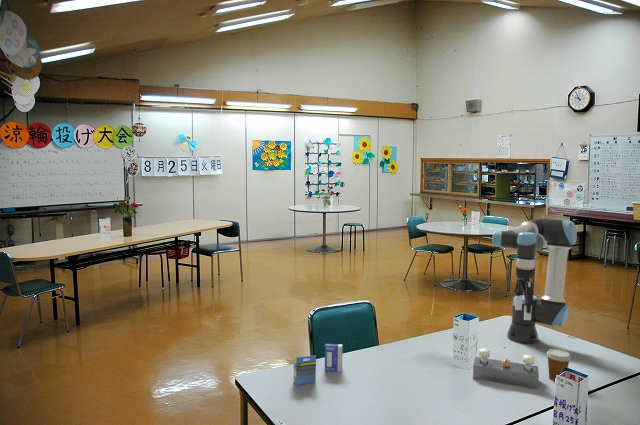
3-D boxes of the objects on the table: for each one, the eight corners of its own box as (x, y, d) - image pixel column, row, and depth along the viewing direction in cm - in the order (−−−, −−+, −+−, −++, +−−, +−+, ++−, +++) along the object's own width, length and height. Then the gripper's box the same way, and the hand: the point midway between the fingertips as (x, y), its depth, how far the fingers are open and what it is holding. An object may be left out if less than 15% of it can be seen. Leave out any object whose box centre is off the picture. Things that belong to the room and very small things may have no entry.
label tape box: (313, 378, 214) (313, 351, 213) (316, 382, 210) (316, 355, 209) (293, 381, 211) (293, 354, 210) (296, 385, 207) (296, 357, 206)
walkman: (324, 370, 222) (324, 345, 220) (325, 368, 224) (325, 342, 223) (342, 371, 221) (342, 346, 220) (342, 369, 224) (342, 343, 222)
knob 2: (522, 370, 214) (523, 354, 213) (533, 372, 212) (534, 355, 212) (522, 375, 210) (523, 357, 209) (533, 376, 208) (534, 359, 208)
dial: (501, 363, 217) (502, 357, 216) (509, 365, 215) (510, 359, 215) (501, 366, 213) (502, 360, 213) (509, 368, 212) (509, 361, 212)
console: (474, 369, 225) (475, 356, 224) (537, 379, 215) (538, 366, 214) (472, 378, 215) (473, 365, 215) (537, 389, 206) (538, 375, 205)
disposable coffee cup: (544, 381, 214) (546, 354, 212) (545, 372, 222) (547, 346, 221) (568, 385, 209) (570, 358, 208) (569, 377, 218) (571, 350, 216)
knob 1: (479, 363, 221) (479, 347, 220) (489, 365, 219) (490, 349, 218) (478, 367, 217) (478, 351, 216) (488, 369, 215) (489, 352, 214)
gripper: (508, 261, 229) (506, 305, 231) (524, 274, 204) (522, 323, 207) (525, 261, 228) (523, 306, 231) (543, 275, 203) (540, 324, 206)
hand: (522, 314), depth 219 cm, fingers open, 13 cm apart
